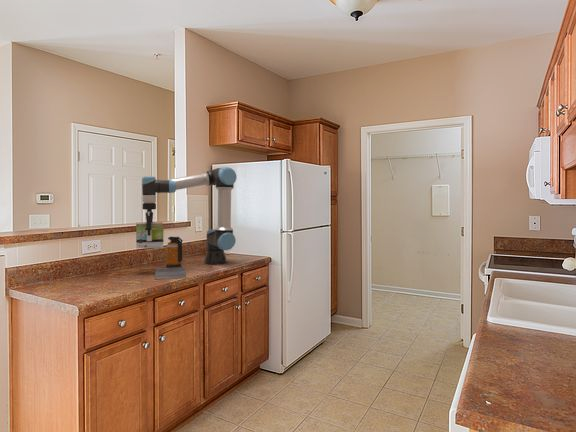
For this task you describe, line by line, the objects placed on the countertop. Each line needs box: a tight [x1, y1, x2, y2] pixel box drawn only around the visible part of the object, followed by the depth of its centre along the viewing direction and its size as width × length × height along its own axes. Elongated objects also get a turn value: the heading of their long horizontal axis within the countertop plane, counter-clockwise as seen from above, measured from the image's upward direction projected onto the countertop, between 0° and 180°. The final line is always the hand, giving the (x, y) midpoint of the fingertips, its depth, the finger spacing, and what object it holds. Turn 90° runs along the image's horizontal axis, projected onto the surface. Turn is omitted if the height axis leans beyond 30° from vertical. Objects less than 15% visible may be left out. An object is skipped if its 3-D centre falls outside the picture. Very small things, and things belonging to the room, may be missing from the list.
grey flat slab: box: [154, 266, 187, 280], centre depth 226 cm, size 16×15×4 cm
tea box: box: [135, 222, 164, 250], centre depth 233 cm, size 15×10×15 cm, turn 112°
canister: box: [165, 236, 184, 268], centre depth 253 cm, size 9×11×20 cm
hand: (149, 240), depth 234 cm, fingers closed on tea box, 10 cm apart
